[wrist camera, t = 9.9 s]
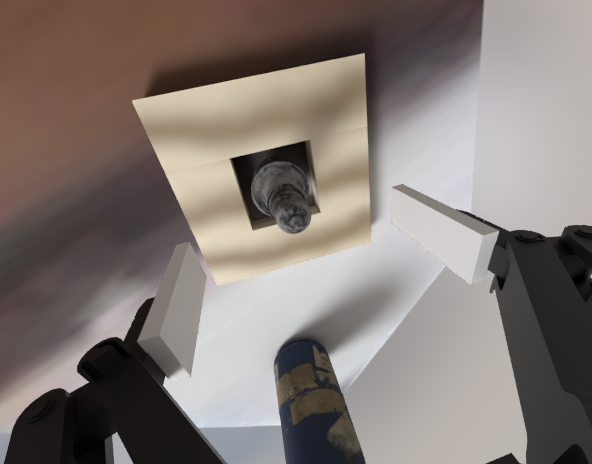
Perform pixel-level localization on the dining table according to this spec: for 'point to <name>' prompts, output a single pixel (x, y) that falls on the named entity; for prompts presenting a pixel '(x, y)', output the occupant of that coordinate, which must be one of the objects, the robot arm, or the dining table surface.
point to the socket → (258, 137)
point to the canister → (313, 408)
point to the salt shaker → (282, 194)
